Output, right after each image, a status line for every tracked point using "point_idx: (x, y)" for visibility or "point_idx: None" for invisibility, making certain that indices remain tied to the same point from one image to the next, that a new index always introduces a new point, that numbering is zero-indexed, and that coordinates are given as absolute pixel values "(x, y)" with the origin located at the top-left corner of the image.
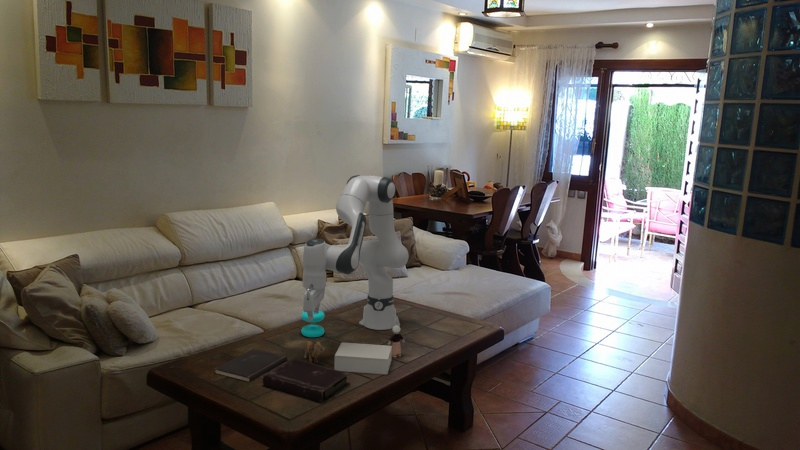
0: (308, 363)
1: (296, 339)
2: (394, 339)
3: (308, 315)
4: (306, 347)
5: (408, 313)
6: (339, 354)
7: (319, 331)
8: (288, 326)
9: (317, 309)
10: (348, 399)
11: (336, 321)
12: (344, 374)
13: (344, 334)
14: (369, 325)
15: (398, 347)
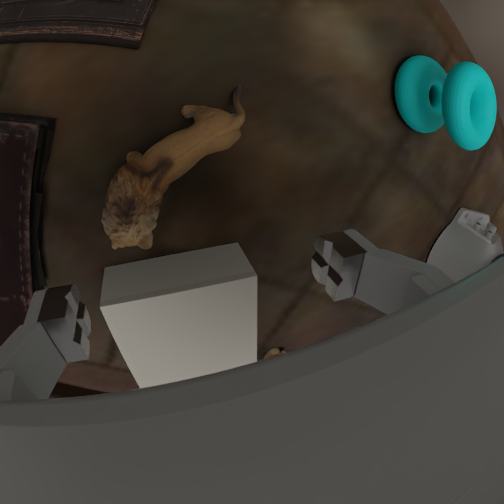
0: (20, 216)
1: (374, 39)
2: None
3: (13, 346)
4: (195, 121)
5: None
6: (118, 317)
7: (415, 121)
8: (451, 21)
9: (336, 294)
10: None
11: (476, 150)
12: None
13: (415, 189)
14: (443, 242)
15: None
